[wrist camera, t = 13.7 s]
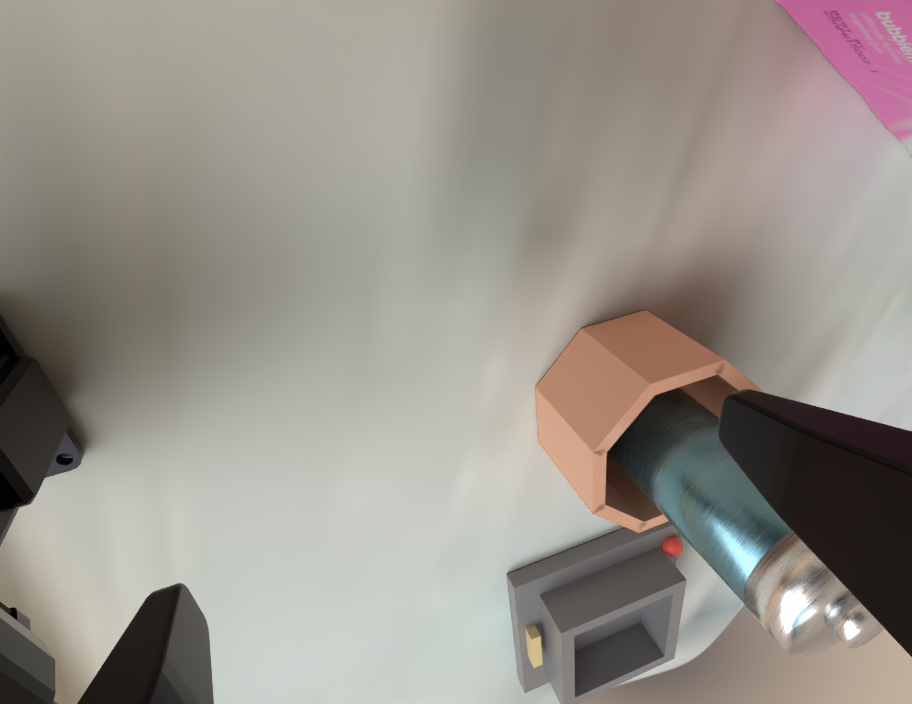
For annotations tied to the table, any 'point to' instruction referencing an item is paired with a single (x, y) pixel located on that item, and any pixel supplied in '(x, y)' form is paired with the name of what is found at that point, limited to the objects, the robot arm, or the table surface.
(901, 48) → the gum box
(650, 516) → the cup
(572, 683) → the tray
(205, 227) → the table surface
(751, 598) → the battery
